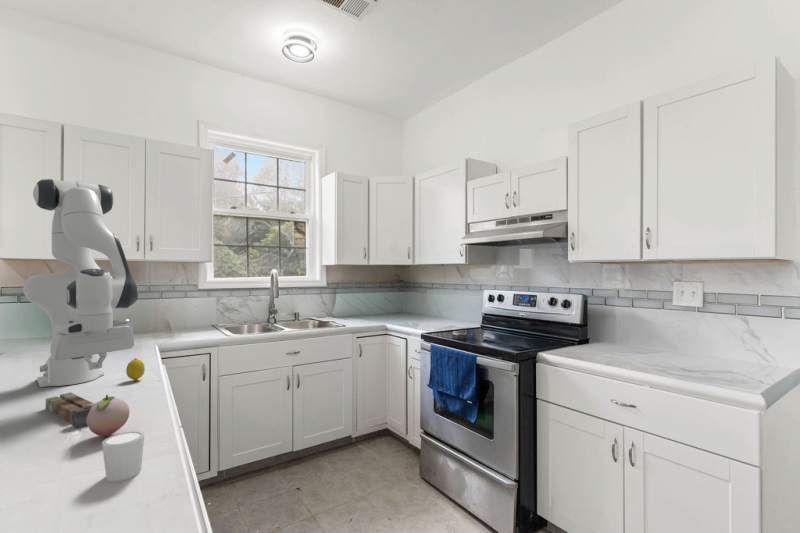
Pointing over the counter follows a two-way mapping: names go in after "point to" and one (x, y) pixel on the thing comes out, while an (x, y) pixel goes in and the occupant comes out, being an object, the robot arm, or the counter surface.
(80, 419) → the tongs base
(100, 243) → the robot arm
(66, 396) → the tongs arm
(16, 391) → the counter surface
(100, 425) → the decorative fruit
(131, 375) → the lemon
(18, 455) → the counter surface
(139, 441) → the shot glass
